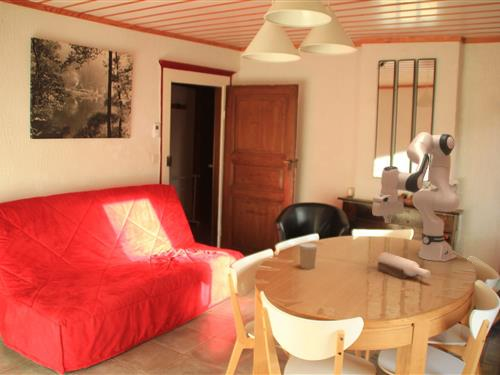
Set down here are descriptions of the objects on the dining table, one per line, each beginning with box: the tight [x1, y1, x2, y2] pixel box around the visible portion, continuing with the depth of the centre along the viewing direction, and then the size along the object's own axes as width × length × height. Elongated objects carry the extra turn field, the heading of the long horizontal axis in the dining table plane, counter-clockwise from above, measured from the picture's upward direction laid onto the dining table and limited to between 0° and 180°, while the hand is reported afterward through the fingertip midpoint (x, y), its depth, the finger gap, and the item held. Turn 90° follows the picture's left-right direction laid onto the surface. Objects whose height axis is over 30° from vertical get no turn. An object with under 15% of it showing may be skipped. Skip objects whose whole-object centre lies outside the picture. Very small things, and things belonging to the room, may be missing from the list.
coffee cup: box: [299, 242, 318, 270], centre depth 274 cm, size 9×9×12 cm
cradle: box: [377, 261, 421, 280], centre depth 266 cm, size 14×16×4 cm
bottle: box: [378, 251, 432, 279], centre depth 261 cm, size 8×8×30 cm
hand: (387, 222), depth 271 cm, fingers closed
